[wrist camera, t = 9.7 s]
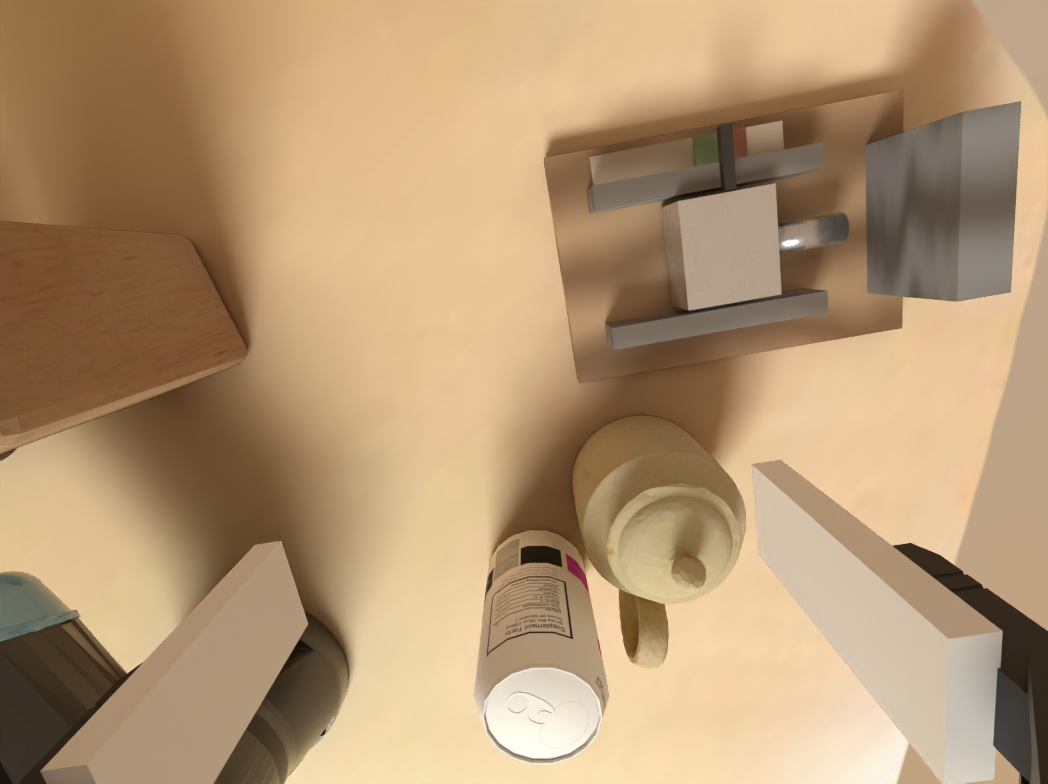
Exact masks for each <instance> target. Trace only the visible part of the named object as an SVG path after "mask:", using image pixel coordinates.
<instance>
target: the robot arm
mask: <svg viewBox="0 0 1048 784" xmlns="http://www.w3.org/2000/svg"><path fill="white" fill-rule="evenodd" d="M752 472H753V486H754V499H755V513H756V527H757V541H758V554H759V556H760V557H761V558H762V559H763V561H764V562H765V563H766V564H767V566H768V567H769V568H770V569H771V571H772V572H773V573H774V574H775V576H776V577H777V578H778V579H779V581H780V582H781V583H782V584H783V586H784V587H785V588H786V589H787V591H788V592H789V593H790V594H791V596H792V597H793V598H794V599H795V601H796V602H797V603H798V604H799V606H800V607H801V608H802V609H803V611H804V612H805V613H806V614H807V616H808V617H809V618H810V619H811V621H812V622H813V623H814V624H815V626H816V627H817V628H818V629H819V631H820V632H821V633H822V634H823V636H824V637H825V638H826V639H827V641H828V642H829V643H830V644H831V645H832V647H833V648H834V649H835V650H836V652H837V653H838V654H839V655H840V657H841V658H842V659H843V660H844V662H845V663H846V664H847V665H848V667H849V668H850V669H851V670H852V672H853V673H854V674H855V675H856V677H857V678H858V679H859V680H860V682H861V683H862V684H863V685H864V687H865V688H866V689H867V690H868V692H869V693H870V694H871V695H872V697H873V698H874V699H875V700H876V702H877V703H878V704H879V705H880V707H881V708H882V709H883V710H884V712H885V713H886V714H887V715H888V717H889V718H890V719H891V720H892V722H893V723H894V724H895V725H896V727H897V728H898V729H899V730H900V732H901V733H902V734H903V735H904V737H905V738H906V739H907V740H908V742H909V743H910V744H911V745H912V747H913V748H914V749H915V750H916V751H917V753H918V754H919V755H920V756H921V758H922V759H923V760H924V761H925V762H926V764H927V765H928V766H929V768H930V769H931V770H932V771H933V773H934V774H935V775H936V776H937V778H938V779H939V780H940V781H941V783H942V784H963V783H971V782H978V781H986V780H992V779H994V768H995V753H996V749H997V750H998V751H999V752H1000V753H1001V754H1002V755H1003V756H1004V757H1005V758H1006V759H1007V760H1008V761H1009V762H1010V763H1011V764H1012V765H1013V766H1014V767H1015V768H1016V770H1017V771H1018V772H1019V773H1020V774H1019V784H1048V631H1047V630H1045V629H1044V628H1042V627H1041V626H1040V625H1038V624H1037V623H1035V622H1034V621H1032V620H1031V619H1030V618H1028V617H1027V616H1025V615H1024V614H1023V613H1021V612H1020V611H1018V610H1017V609H1016V608H1014V607H1013V606H1011V605H1010V604H1008V603H1007V602H1005V601H1004V600H1003V599H1001V598H1000V597H998V596H997V595H996V594H994V593H993V592H991V591H990V590H988V589H987V588H986V589H984V588H983V587H982V585H981V584H980V583H979V582H977V581H975V580H974V579H973V578H972V577H970V576H969V575H964V574H963V571H962V570H960V569H959V568H957V567H956V566H955V565H953V564H952V563H950V562H949V561H948V560H946V559H945V558H943V557H942V556H940V555H938V554H936V553H933V552H931V551H929V550H926V549H924V548H921V547H919V546H916V545H914V544H912V543H908V544H901V545H894V546H892V545H890V544H889V543H888V542H886V541H885V540H884V539H883V538H881V537H880V536H879V535H877V534H876V533H875V532H874V531H872V530H871V529H870V528H868V527H867V526H866V525H864V524H863V523H862V522H861V521H859V520H858V519H857V518H855V517H854V516H853V515H851V514H850V513H849V512H848V511H846V510H845V509H844V508H842V507H841V506H840V505H839V504H837V503H836V502H835V501H833V500H832V499H831V498H829V497H828V496H827V495H826V494H824V493H823V492H822V491H820V490H819V489H818V488H817V487H815V486H814V485H813V484H811V483H810V482H809V481H807V480H806V479H805V478H804V477H802V476H801V475H800V474H798V473H797V472H796V471H794V470H793V469H792V468H791V467H789V466H788V465H787V464H785V463H784V462H783V461H782V460H776V461H770V462H764V463H757V464H752ZM79 617H80V614H79V613H78V612H77V611H76V610H70V609H69V608H68V607H67V606H66V605H65V604H64V603H63V602H62V601H61V600H60V599H59V598H58V597H57V596H56V595H55V594H54V593H53V592H51V591H50V590H49V589H48V588H47V587H46V586H45V585H44V584H43V583H42V582H41V581H40V580H39V579H38V578H36V577H35V576H33V575H30V574H28V573H24V572H15V571H12V572H2V573H0V784H284V783H285V781H286V779H287V778H288V776H289V775H290V774H291V773H292V772H293V771H294V769H295V768H296V767H297V766H298V765H299V763H300V762H301V761H302V759H303V758H304V756H305V755H306V754H307V752H308V751H309V750H310V748H312V747H313V746H314V745H315V744H317V743H318V742H319V741H320V740H321V739H322V738H323V736H324V735H325V734H326V733H327V732H328V730H329V729H330V728H331V726H332V724H333V723H334V721H335V719H336V717H337V715H338V712H339V710H340V708H341V705H342V703H343V700H344V698H345V695H346V692H347V687H348V668H347V663H346V659H345V656H344V654H343V652H342V649H341V648H340V646H339V644H338V642H337V641H336V639H335V638H334V637H333V635H332V634H331V633H330V632H329V631H328V630H327V629H326V628H325V627H324V626H323V625H322V624H321V623H320V622H318V621H317V620H316V619H314V618H313V617H311V616H310V615H308V614H307V613H305V612H304V609H303V606H302V603H301V600H300V597H299V594H298V591H297V588H296V585H295V581H294V578H293V575H292V572H291V569H290V566H289V563H288V560H287V557H286V554H285V551H284V547H283V544H282V541H276V542H269V543H263V544H257V545H254V546H253V547H252V548H251V549H250V551H249V552H248V553H247V554H246V555H245V556H244V557H243V558H242V559H241V560H240V561H239V562H238V563H237V564H236V565H235V566H234V567H233V568H232V570H231V571H230V572H229V573H228V574H227V575H226V576H225V577H224V578H223V579H222V580H221V581H220V582H219V583H218V584H217V585H216V586H215V587H214V588H213V590H212V591H211V592H210V593H209V594H208V595H207V596H206V597H205V598H204V599H203V600H202V601H201V602H200V603H199V604H198V605H197V606H196V607H195V609H194V610H193V611H192V612H191V613H190V614H189V615H188V616H187V617H186V618H185V619H184V620H183V621H182V622H181V623H180V624H179V625H178V626H177V627H176V629H175V630H174V631H173V632H172V633H171V634H170V635H169V636H168V637H167V638H166V639H165V640H164V641H163V642H162V643H161V644H160V645H159V646H158V648H157V649H156V650H155V651H154V652H153V653H152V654H151V655H150V656H149V657H148V658H147V659H146V660H145V661H144V662H143V663H141V664H140V665H138V666H137V667H136V668H134V669H133V670H132V671H130V672H129V673H127V672H126V671H125V670H124V669H123V668H122V667H121V666H120V665H119V663H118V662H117V661H116V660H115V659H114V658H113V657H112V656H111V655H110V654H109V652H108V651H107V650H106V649H105V648H104V647H103V646H102V645H101V644H100V642H99V641H98V640H97V639H96V638H95V637H94V636H93V634H92V633H91V632H90V631H89V630H88V629H87V627H86V626H85V625H84V624H83V623H82V621H81V620H80V619H79Z"/></svg>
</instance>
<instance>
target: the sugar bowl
mask: <svg viewBox="0 0 1048 784" xmlns="http://www.w3.org/2000/svg"><path fill="white" fill-rule="evenodd" d="M572 487H573V494H574V500H575V506H576V512H577V518H578V523H579V527H580V531H581V535H582V539H583V543H584V546H585V549H586V552H587V554H588V557H589V560H590V561H591V563H592V564H593V566H594V567H595V569H596V570H597V571H598V572H599V574H600V575H601V576H602V577H603V578H604V579H606V580H607V581H608V582H609V583H611V584H612V585H614V586H615V587H617V588H619V610H620V620H621V630H622V635H623V642H624V646H625V649H626V653H627V655H628V657H629V659H630V661H631V662H632V663H633V664H635V665H637V666H639V667H641V668H646V669H650V668H655V667H659V666H660V665H661V664H662V663H663V662H664V660H665V658H666V654H667V649H668V636H669V635H668V621H667V615H666V610H665V604H677V603H683V602H688V601H691V600H694V599H697V598H699V597H701V596H704V595H705V594H707V593H709V592H710V591H712V590H713V589H715V588H716V587H718V586H719V585H720V584H721V583H722V582H723V581H724V580H725V579H726V577H727V576H728V575H729V573H730V572H731V570H732V569H733V567H734V565H735V563H736V561H737V559H738V556H739V552H740V549H741V545H742V542H743V539H744V534H745V529H746V512H745V507H744V502H743V499H742V496H741V494H740V492H739V490H738V488H737V487H736V485H735V483H734V481H733V480H732V479H731V478H730V476H729V475H728V474H727V473H726V472H725V471H724V469H723V468H722V467H721V466H720V465H719V464H718V463H717V461H716V460H715V459H714V458H713V457H712V456H711V455H710V454H709V453H708V452H707V451H706V450H705V449H704V448H703V447H702V446H701V445H700V444H699V443H698V442H697V441H695V440H694V439H693V438H692V437H691V436H690V435H689V434H688V433H687V432H686V431H685V430H683V429H682V428H681V427H679V426H678V425H676V424H674V423H672V422H670V421H668V420H665V419H662V418H659V417H654V416H630V417H625V418H622V419H618V420H616V421H613V422H610V423H609V424H607V425H605V426H603V427H602V428H601V429H599V430H598V431H597V432H595V433H594V434H593V435H592V436H591V437H590V438H589V439H588V440H587V441H586V443H585V444H584V445H583V447H582V448H581V450H580V452H579V454H578V456H577V459H576V461H575V465H574V469H573V474H572Z"/></svg>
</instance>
